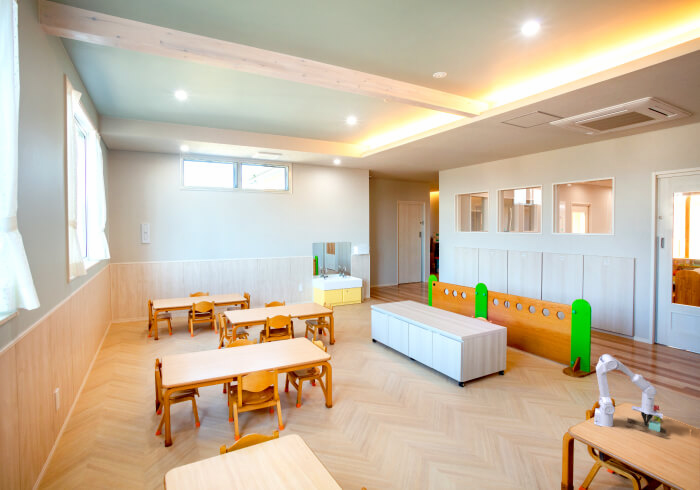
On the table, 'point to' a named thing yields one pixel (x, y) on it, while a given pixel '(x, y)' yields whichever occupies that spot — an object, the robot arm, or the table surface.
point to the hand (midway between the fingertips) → (646, 424)
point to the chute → (645, 428)
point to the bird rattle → (655, 416)
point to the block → (654, 425)
